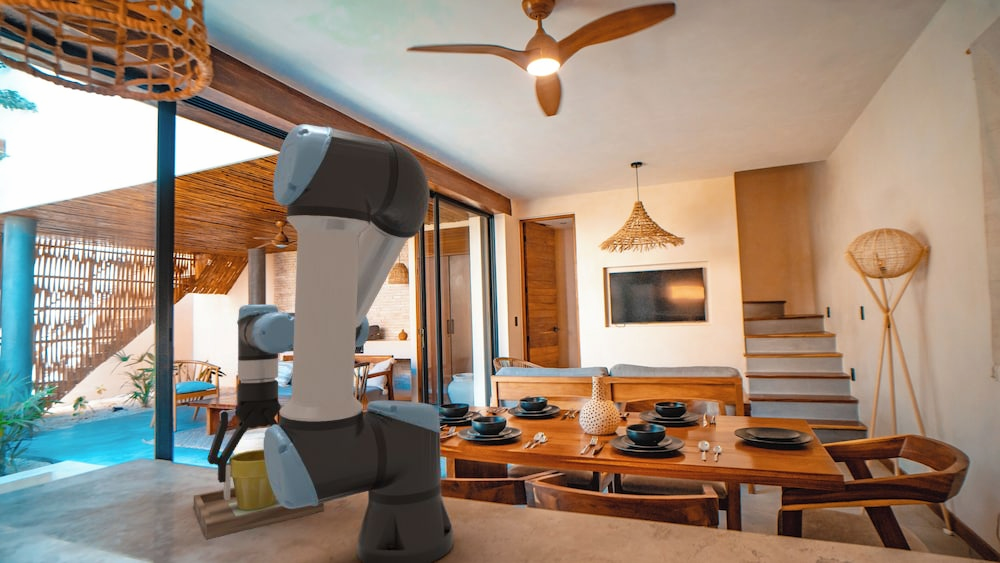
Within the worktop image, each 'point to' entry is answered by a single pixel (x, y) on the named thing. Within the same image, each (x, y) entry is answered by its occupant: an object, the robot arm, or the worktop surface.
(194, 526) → the worktop surface
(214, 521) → the walnut tray
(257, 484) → the plant pot
